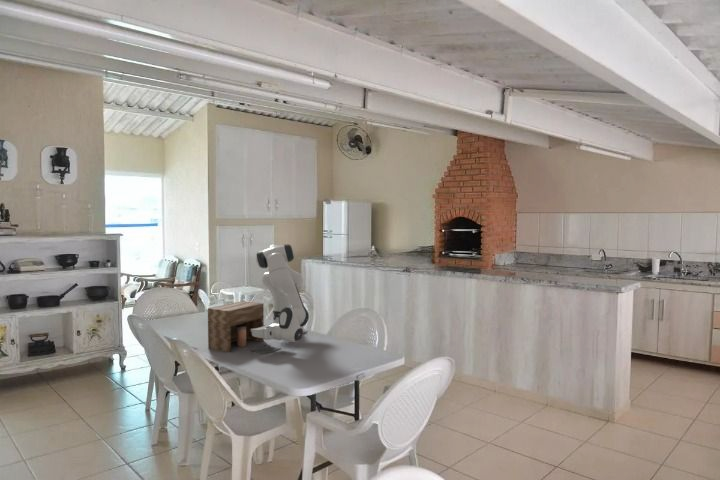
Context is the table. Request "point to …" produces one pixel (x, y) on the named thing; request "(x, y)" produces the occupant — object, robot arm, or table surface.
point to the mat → (265, 349)
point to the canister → (241, 336)
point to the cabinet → (233, 323)
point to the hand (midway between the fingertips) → (257, 328)
